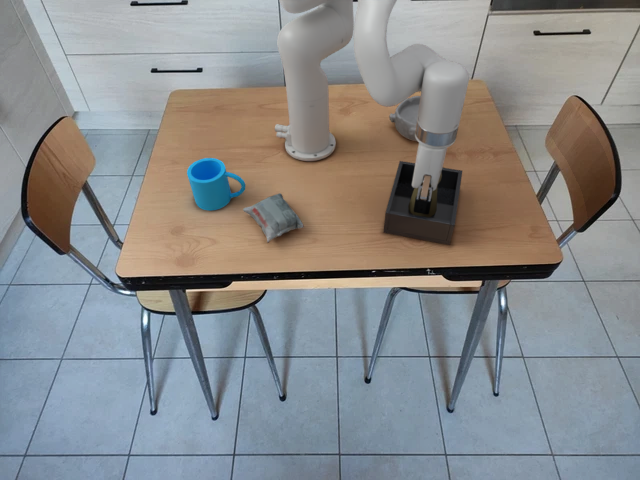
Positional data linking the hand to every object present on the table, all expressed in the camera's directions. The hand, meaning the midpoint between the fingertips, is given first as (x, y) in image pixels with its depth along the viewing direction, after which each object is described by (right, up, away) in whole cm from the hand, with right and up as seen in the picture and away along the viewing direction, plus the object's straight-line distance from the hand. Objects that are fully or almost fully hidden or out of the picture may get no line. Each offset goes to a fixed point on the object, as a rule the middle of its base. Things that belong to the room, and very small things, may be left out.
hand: (423, 199), depth 103 cm
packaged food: (-32, -6, +1) cm, 32 cm away
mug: (-44, +1, +7) cm, 45 cm away
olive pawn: (0, -2, +2) cm, 3 cm away
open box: (0, -2, +3) cm, 4 cm away
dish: (+4, +20, +23) cm, 31 cm away
